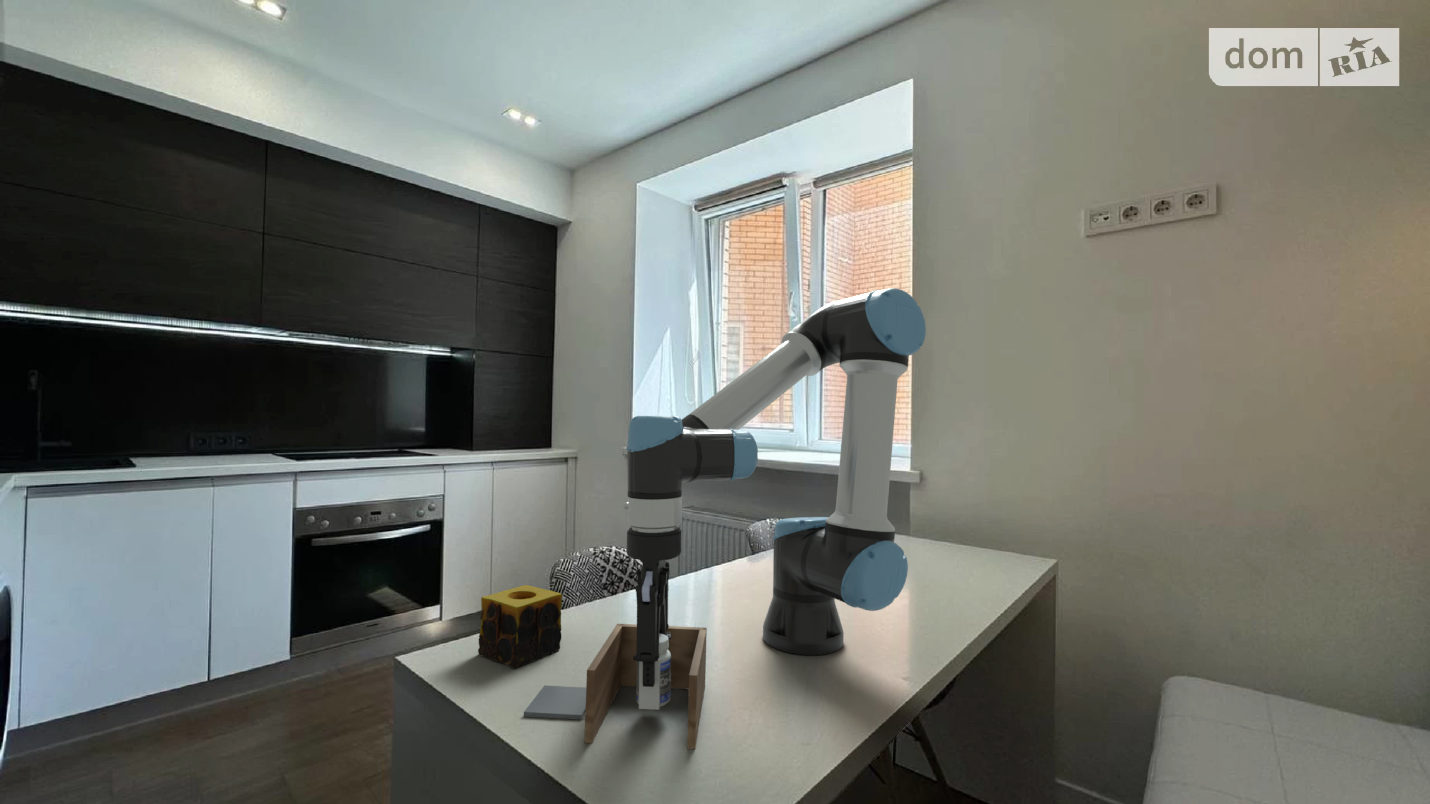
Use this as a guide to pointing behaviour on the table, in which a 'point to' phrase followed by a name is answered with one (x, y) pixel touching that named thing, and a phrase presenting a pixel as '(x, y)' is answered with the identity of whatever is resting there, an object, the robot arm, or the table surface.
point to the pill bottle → (661, 671)
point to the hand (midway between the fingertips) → (652, 697)
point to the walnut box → (621, 669)
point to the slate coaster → (558, 703)
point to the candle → (520, 625)
